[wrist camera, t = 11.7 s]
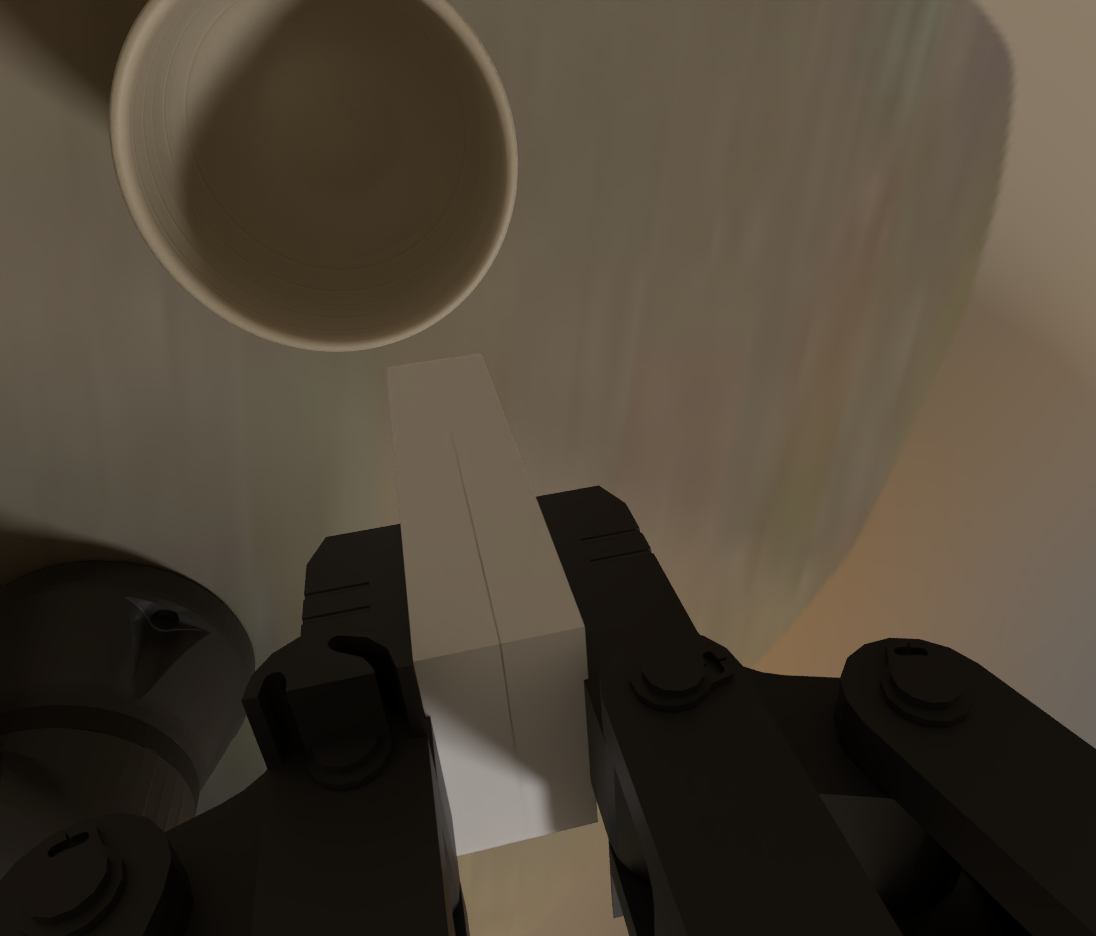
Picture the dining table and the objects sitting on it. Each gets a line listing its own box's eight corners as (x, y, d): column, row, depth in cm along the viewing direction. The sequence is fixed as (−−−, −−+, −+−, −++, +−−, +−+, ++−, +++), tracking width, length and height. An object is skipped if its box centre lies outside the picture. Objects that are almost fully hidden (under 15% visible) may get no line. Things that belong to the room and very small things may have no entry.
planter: (123, 157, 33) (34, 213, 24) (274, -124, 29) (239, -187, 20) (378, 318, 38) (386, 413, 29) (529, 98, 35) (593, 127, 26)
